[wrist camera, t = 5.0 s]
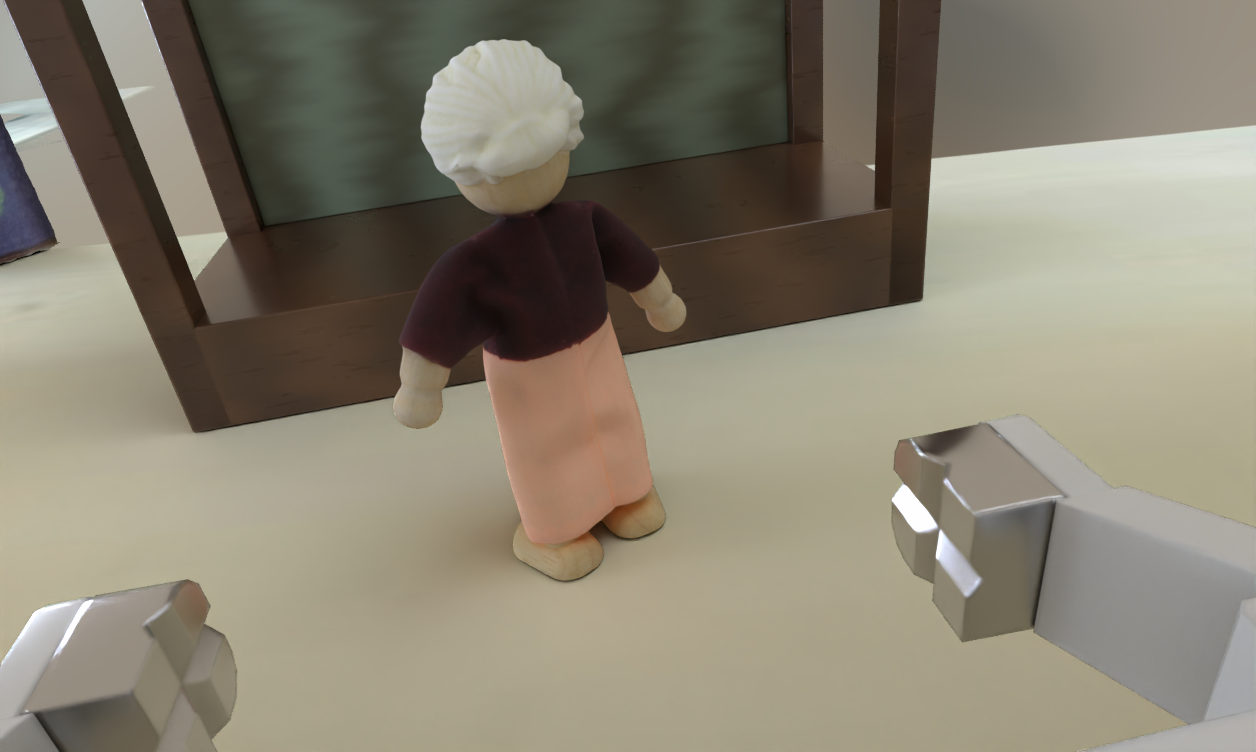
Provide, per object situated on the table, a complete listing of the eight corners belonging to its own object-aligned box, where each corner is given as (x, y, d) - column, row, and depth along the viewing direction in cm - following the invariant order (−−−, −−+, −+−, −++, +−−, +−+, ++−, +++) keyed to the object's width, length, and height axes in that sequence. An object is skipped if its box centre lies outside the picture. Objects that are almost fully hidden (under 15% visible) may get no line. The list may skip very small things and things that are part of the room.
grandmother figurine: (623, 446, 26) (560, 12, 20) (720, 488, 24) (682, 8, 18) (421, 588, 22) (258, 79, 15) (515, 658, 19) (367, 87, 13)
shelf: (812, 211, 43) (808, -391, 32) (923, 300, 33) (976, -550, 21) (263, 305, 41) (40, -314, 29) (192, 433, 30) (-199, -452, 19)
